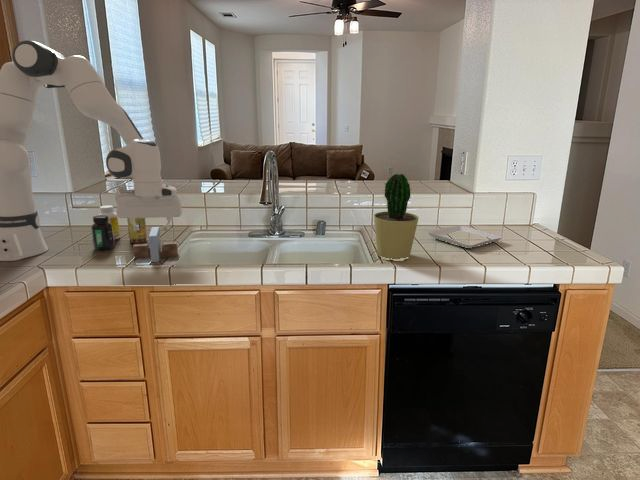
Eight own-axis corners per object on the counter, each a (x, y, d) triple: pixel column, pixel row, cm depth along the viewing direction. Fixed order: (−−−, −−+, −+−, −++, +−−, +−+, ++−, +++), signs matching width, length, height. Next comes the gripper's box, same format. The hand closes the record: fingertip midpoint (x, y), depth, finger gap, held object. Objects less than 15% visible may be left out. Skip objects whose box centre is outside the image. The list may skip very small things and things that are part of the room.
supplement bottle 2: (102, 252, 154) (97, 219, 150) (90, 249, 157) (85, 217, 153) (118, 247, 159) (115, 215, 156) (106, 244, 162) (102, 213, 159)
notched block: (134, 259, 147) (133, 246, 146) (135, 256, 149) (134, 244, 148) (177, 255, 151) (176, 243, 150) (177, 253, 153) (176, 241, 152)
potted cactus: (410, 250, 161) (417, 169, 153) (419, 264, 147) (427, 175, 138) (369, 249, 161) (373, 168, 153) (374, 263, 147) (379, 175, 138)
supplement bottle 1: (120, 235, 174) (117, 204, 170) (119, 240, 168) (115, 207, 164) (102, 236, 172) (98, 205, 168) (100, 241, 166) (95, 208, 162)
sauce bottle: (141, 244, 163) (135, 192, 157) (126, 243, 164) (120, 191, 158) (150, 239, 169) (145, 189, 163) (136, 238, 170) (130, 188, 164)
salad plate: (502, 244, 171) (503, 236, 170) (469, 253, 160) (470, 244, 159) (458, 232, 188) (459, 224, 187) (425, 239, 176) (426, 231, 175)
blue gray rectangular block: (151, 262, 144) (148, 236, 142) (154, 251, 156) (151, 227, 153) (158, 261, 145) (156, 235, 143) (161, 250, 156) (159, 226, 154)
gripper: (112, 191, 137) (116, 233, 141) (179, 190, 142) (182, 231, 146) (116, 188, 143) (120, 228, 147) (180, 187, 148) (183, 226, 152)
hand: (151, 230), depth 146 cm, fingers open, 8 cm apart
